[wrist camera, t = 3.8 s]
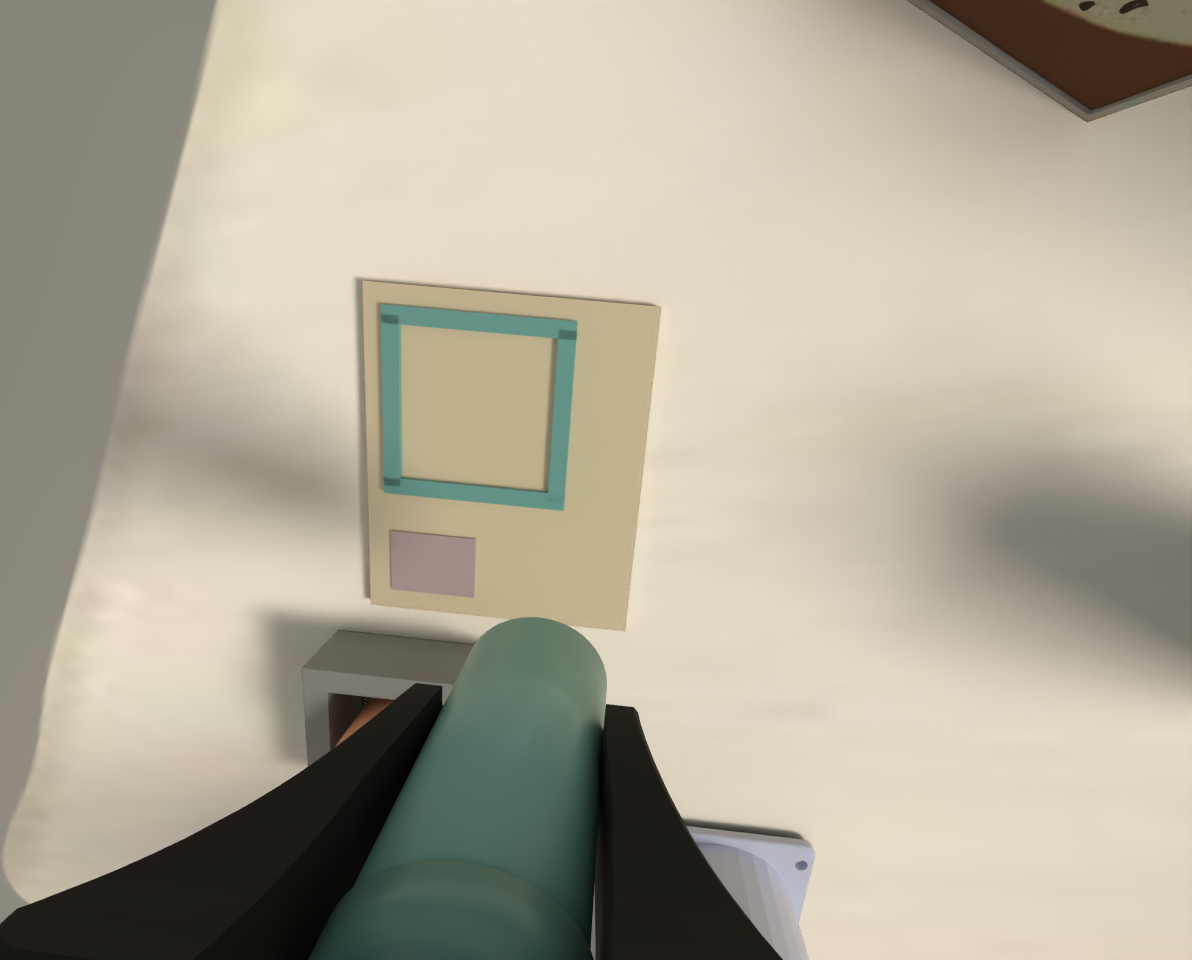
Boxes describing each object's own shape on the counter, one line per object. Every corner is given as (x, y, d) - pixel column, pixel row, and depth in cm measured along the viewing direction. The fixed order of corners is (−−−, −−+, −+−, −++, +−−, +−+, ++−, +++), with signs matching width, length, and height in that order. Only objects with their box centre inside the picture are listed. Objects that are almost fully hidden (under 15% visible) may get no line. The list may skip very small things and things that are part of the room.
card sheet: (625, 627, 22) (625, 633, 21) (374, 600, 22) (368, 606, 21) (660, 307, 18) (661, 306, 18) (366, 281, 19) (359, 280, 18)
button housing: (502, 790, 24) (487, 844, 21) (344, 772, 24) (311, 823, 22) (509, 648, 22) (494, 689, 20) (338, 630, 22) (301, 668, 20)
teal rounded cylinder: (603, 753, 14) (578, 1183, 7) (459, 736, 14) (288, 1142, 7) (617, 621, 13) (604, 966, 6) (462, 605, 13) (267, 923, 6)
